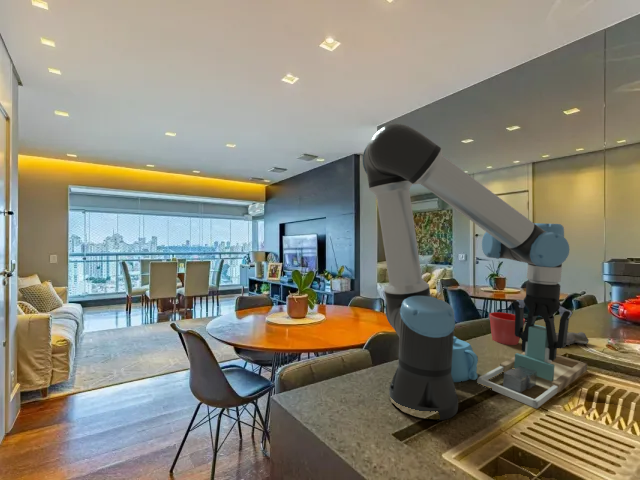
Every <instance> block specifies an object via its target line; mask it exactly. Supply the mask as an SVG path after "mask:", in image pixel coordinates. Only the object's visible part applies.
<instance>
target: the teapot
mask: <svg viewBox="0 0 640 480" xmlns="http://www.w3.org/2000/svg"><path fill="white" fill-rule="evenodd" d="M478 359H479V358H478V356H477V354H476V353H475V352H474V349H473V348H472V346H471V344H470V343H469V342H468V341H465V340H461V339H459V338H458V337H456V336H455V335H454V340H453V354H452V368H451V374H452V378H453V382H454V383H461V381H462V382H466V381H469V380H473V381H475V380H476V379H477V378H478V377H479V376H478V373H477V371H478V369H477V368H478V367H477V366H478V362H479V360H478ZM476 381H477V380H476Z"/></svg>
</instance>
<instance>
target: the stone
mask: <svg viewBox="0 0 640 480" xmlns="http://www.w3.org/2000/svg"><path fill="white" fill-rule="evenodd" d="M558 333H559V331H558V332H556V337H557V341H558ZM589 340H590V339H589V338H588V337H587V334H586V333H584V332H583V331H580V332H572V331H570V332H569V331H568V333H567V341H566V345H569V346H571V345H572V344H575V343H578V344H577V345H584V344H587V343H588V344H589V343H590V342H589ZM570 344H571V345H570ZM588 344H587V345H588Z"/></svg>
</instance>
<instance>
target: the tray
mask: <svg viewBox="0 0 640 480" xmlns="http://www.w3.org/2000/svg"><path fill="white" fill-rule="evenodd" d="M503 368H504V367H502V366H500V365H499V366H498V367H496V368H494V369H492V370H490V371H488V372H486V373H484V374H482V375H480V376H478V377H477V380H476V384H477V383H480V384H483V385H486V386H490V387H492V390H491V391H494V392H496V393H498V394H501V395H503V396H506V397H508V398H510V399H513V400H515V401H518V402H520V403H522V404H525V405H527V406H529V407H531V408H534V409H538V408H540V407H542V405H543V404H545V403H546V402H548V401H549V400H550V399H551V398H553V397H554V396H555V395H557V391H558V386H555V385H554V386H552V387H551V388H549V389H547V390H545V391H543V392H542V394H540V395H539V396H537V397H536V398H532V397H530V396H527V395H525V394H523V393H519V392H516V391H514V390H511V389H509V388H506V387H504V386H503V385H501V384H497V383H495V382H492V381H490V380H491V379H490V378H492V377H494V376H496V375H497V374H499V373H501V372H503ZM501 374H502V373H501ZM496 377H497V376H496ZM494 378H495V377H494ZM488 379H490V380H488ZM492 379H493V378H492Z"/></svg>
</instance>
